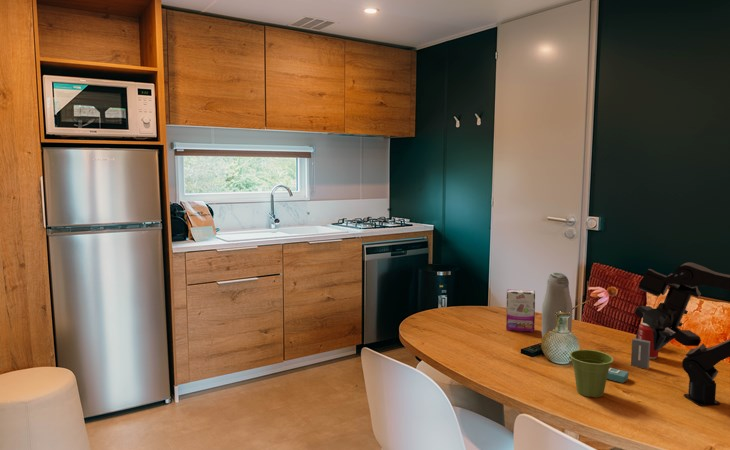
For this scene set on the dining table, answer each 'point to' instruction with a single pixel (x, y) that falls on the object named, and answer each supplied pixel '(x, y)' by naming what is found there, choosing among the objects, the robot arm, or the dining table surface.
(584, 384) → the plant pot
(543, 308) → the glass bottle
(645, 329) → the beverage can
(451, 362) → the dining table surface
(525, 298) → the candy bar box
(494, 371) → the dining table surface
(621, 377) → the tile
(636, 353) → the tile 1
